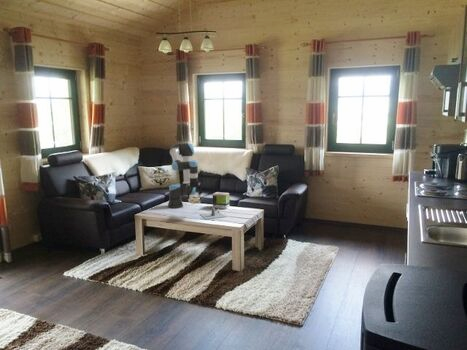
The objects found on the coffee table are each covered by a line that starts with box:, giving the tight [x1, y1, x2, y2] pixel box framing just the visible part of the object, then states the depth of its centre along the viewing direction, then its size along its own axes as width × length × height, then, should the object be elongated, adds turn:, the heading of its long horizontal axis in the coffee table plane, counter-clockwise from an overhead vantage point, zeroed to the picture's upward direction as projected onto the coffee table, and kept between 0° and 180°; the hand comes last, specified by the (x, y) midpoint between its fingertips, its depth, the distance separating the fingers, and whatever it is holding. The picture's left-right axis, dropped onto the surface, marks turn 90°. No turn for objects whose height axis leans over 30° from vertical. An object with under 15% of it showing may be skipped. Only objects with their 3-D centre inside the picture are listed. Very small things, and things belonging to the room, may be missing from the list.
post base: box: [200, 207, 227, 220], centre depth 349 cm, size 16×20×8 cm
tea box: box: [212, 191, 230, 210], centre depth 378 cm, size 15×10×15 cm, turn 70°
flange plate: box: [187, 195, 201, 205], centre depth 346 cm, size 17×8×4 cm, turn 24°
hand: (194, 201), depth 344 cm, fingers closed on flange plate, 8 cm apart
